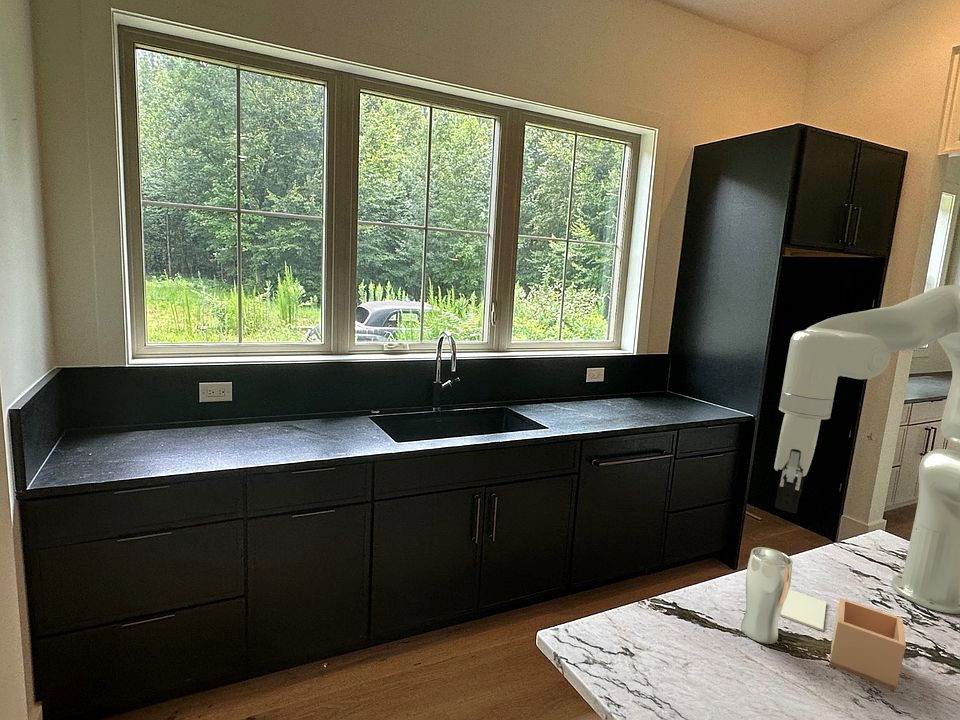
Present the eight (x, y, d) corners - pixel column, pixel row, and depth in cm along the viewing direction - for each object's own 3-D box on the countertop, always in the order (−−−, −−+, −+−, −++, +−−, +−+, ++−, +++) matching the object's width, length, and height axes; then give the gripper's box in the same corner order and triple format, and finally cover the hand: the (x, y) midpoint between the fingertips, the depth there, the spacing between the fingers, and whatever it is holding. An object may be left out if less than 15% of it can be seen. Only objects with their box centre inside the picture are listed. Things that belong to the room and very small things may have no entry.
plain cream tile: (765, 583, 116) (765, 581, 116) (826, 603, 110) (826, 602, 110) (757, 607, 107) (757, 605, 107) (822, 631, 101) (823, 629, 101)
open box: (832, 637, 99) (839, 597, 98) (893, 660, 94) (902, 618, 93) (829, 665, 92) (837, 622, 91) (896, 691, 87) (905, 645, 86)
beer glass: (786, 649, 95) (800, 570, 93) (743, 641, 97) (756, 563, 94) (773, 624, 102) (786, 550, 99) (733, 617, 103) (745, 543, 101)
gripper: (785, 393, 101) (770, 481, 104) (774, 409, 87) (757, 510, 89) (833, 401, 97) (816, 492, 100) (830, 419, 83) (810, 525, 85)
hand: (788, 501), depth 94 cm, fingers open, 9 cm apart
